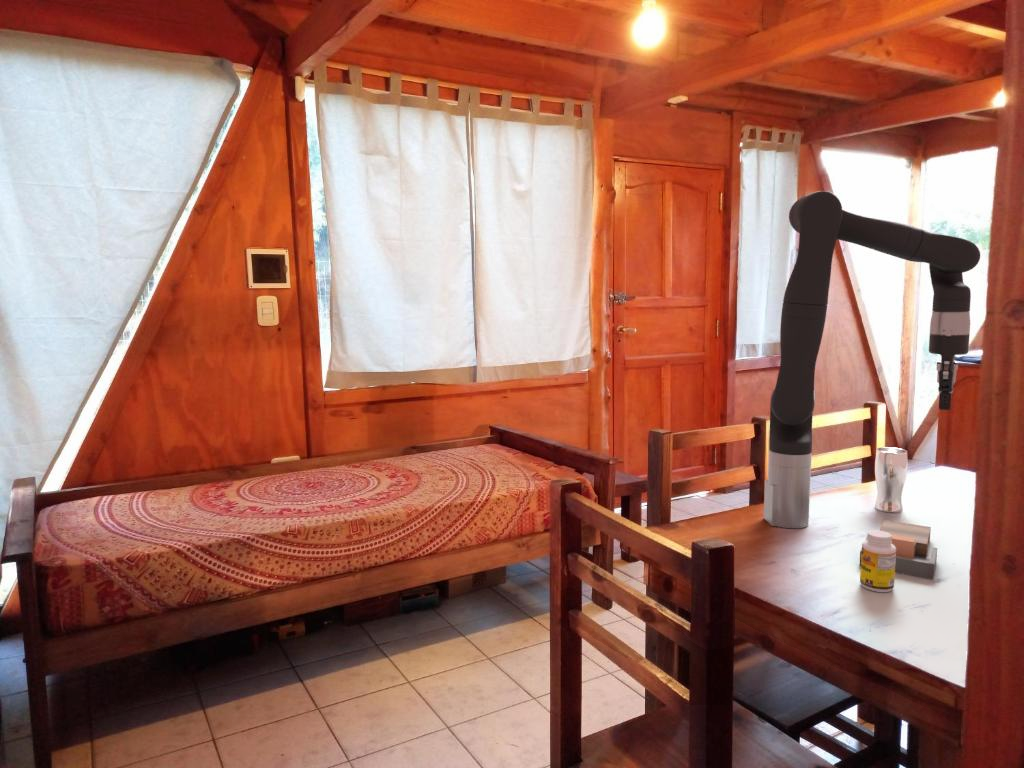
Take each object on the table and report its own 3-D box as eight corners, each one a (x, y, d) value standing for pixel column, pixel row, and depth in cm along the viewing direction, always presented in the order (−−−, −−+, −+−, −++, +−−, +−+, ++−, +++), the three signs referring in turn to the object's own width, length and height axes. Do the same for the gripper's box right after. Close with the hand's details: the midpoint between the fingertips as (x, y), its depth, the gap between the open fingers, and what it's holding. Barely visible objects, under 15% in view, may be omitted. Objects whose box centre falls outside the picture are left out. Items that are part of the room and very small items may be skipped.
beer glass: (910, 513, 169) (913, 453, 167) (880, 513, 170) (883, 453, 168) (896, 505, 176) (899, 446, 174) (867, 505, 177) (871, 446, 175)
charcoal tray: (866, 550, 146) (866, 536, 146) (936, 562, 139) (937, 547, 139) (859, 565, 138) (860, 551, 138) (933, 579, 131) (934, 564, 131)
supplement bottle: (855, 580, 132) (858, 528, 130) (886, 581, 131) (889, 528, 130) (866, 593, 126) (869, 538, 125) (898, 594, 125) (902, 539, 124)
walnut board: (883, 532, 156) (883, 520, 156) (929, 540, 152) (930, 527, 151) (876, 549, 147) (877, 536, 146) (926, 558, 142) (927, 544, 141)
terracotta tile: (886, 533, 140) (885, 537, 138) (915, 538, 137) (914, 542, 135) (885, 557, 141) (883, 561, 139) (913, 562, 138) (912, 566, 136)
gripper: (931, 330, 162) (927, 404, 165) (927, 333, 151) (923, 412, 154) (970, 330, 158) (965, 406, 160) (969, 334, 147) (963, 415, 150)
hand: (944, 409), depth 157 cm, fingers closed
